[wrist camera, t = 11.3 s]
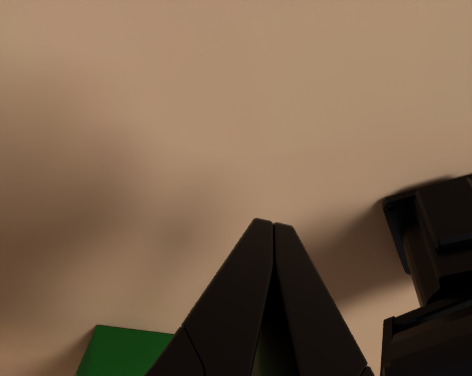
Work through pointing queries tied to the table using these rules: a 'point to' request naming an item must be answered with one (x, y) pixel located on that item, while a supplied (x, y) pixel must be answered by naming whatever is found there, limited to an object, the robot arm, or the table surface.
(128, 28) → the table surface
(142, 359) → the milk carton
